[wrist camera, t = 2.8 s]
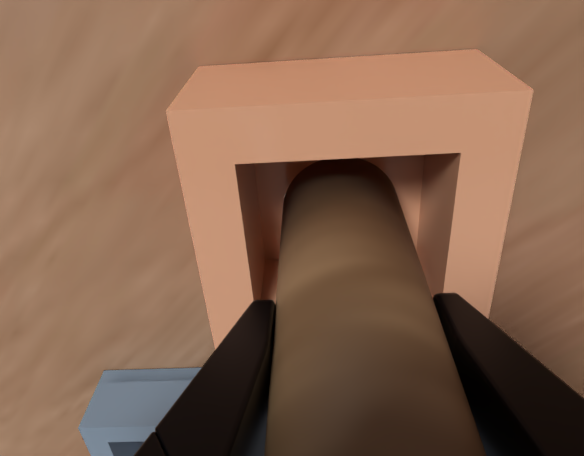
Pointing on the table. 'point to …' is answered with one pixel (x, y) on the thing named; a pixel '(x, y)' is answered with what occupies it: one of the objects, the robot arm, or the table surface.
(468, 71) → the terracotta socket
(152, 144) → the table surface
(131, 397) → the slate tray
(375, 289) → the walnut dowel
